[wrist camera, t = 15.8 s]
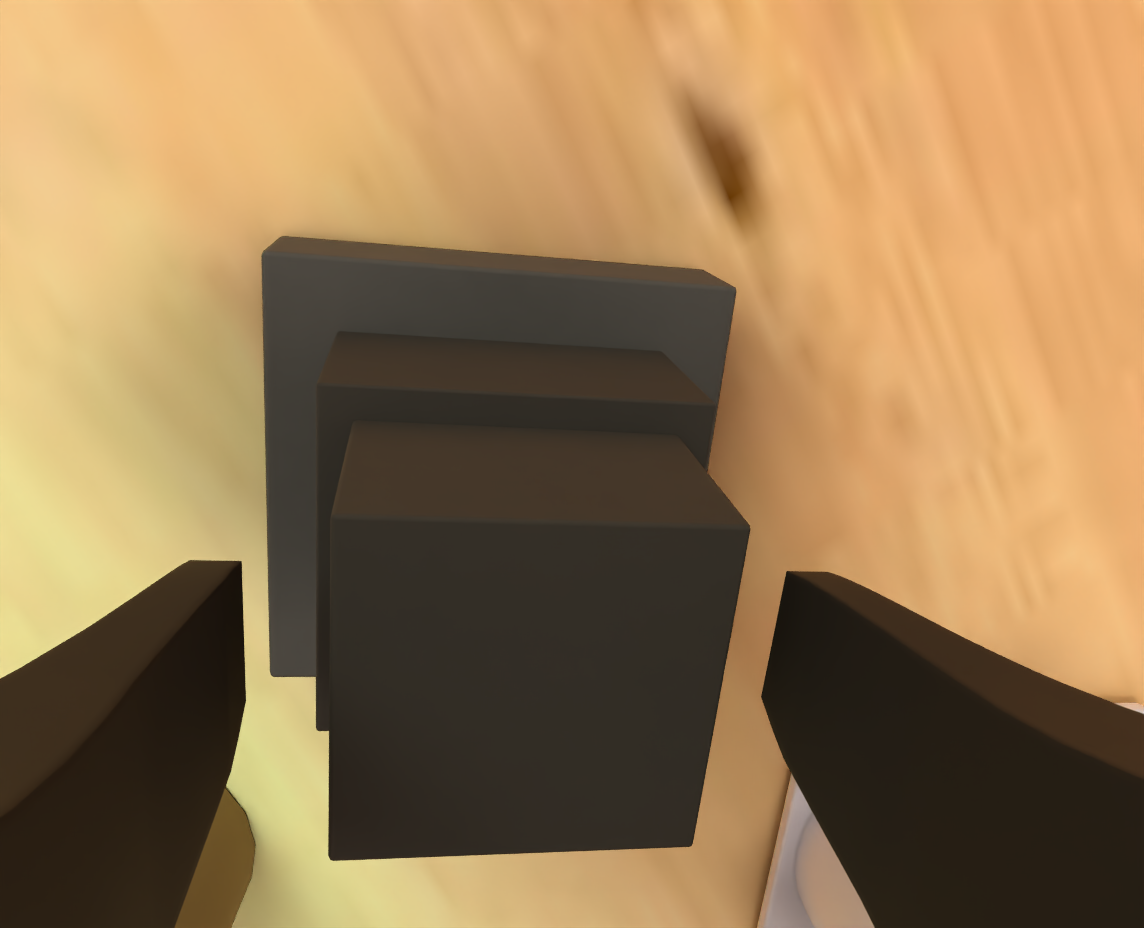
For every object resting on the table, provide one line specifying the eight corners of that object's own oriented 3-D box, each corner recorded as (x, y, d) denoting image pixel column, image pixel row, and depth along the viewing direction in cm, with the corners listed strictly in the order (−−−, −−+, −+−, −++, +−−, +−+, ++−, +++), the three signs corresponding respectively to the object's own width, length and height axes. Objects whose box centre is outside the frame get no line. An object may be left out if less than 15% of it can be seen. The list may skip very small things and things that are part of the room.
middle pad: (663, 350, 16) (717, 403, 13) (624, 626, 18) (665, 727, 15) (337, 330, 15) (315, 382, 12) (334, 624, 17) (315, 732, 14)
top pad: (678, 433, 13) (753, 526, 10) (639, 701, 15) (693, 848, 12) (352, 418, 12) (330, 515, 9) (347, 703, 14) (328, 863, 11)
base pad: (706, 269, 18) (739, 287, 16) (652, 626, 20) (675, 677, 18) (278, 234, 16) (260, 250, 14) (284, 623, 19) (269, 679, 17)
